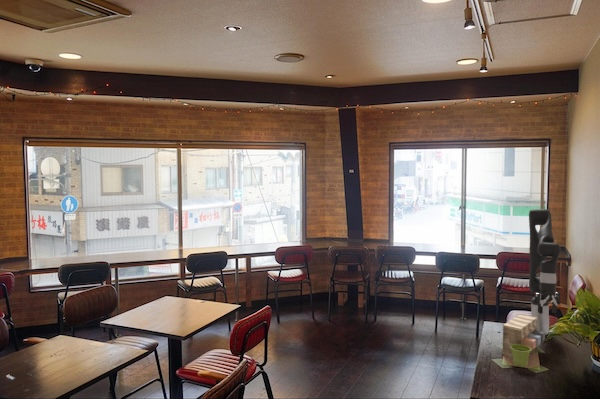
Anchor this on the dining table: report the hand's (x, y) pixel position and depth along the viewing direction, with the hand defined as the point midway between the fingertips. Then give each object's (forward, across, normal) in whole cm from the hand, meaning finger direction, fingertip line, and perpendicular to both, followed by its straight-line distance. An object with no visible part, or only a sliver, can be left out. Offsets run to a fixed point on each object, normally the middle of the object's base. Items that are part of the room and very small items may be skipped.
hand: (547, 313), depth 243 cm
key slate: (+17, +3, -6) cm, 18 cm away
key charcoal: (+16, -4, -10) cm, 19 cm away
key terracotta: (+17, +9, -2) cm, 20 cm away
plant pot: (+25, +18, +3) cm, 31 cm away
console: (+23, +6, -12) cm, 26 cm away
